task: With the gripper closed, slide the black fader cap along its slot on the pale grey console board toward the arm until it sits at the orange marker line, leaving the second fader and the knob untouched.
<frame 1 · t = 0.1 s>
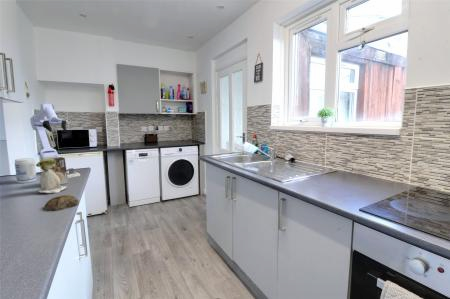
hand: (58, 130, 145), 32 cm above the worktop, tool tilted 50°, fingers open, 7 cm apart
fader a: (71, 170, 158), point 4 cm above the worktop, slide at 3.0 cm
coffee box: (58, 184, 139), on the worktop
off-white lumpy piece: (52, 191, 126), on the worktop
fader b: (58, 171, 155), point 4 cm above the worktop, slide at -1.0 cm
console: (65, 175, 158), on the worktop
bread roll: (61, 206, 105), on the worktop
supplement tub: (27, 181, 146), on the worktop
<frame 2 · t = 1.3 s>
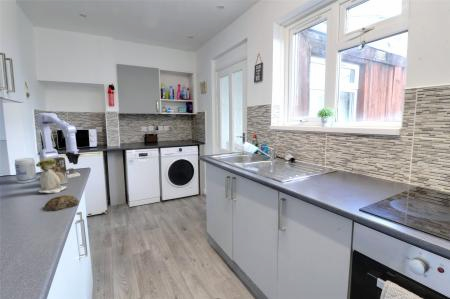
hand: (73, 163, 153), 9 cm above the worktop, tool pointing down, fingers open, 7 cm apart
nothing on the worktop moved.
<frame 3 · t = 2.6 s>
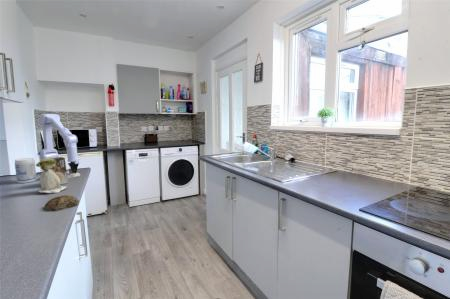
hand: (74, 172, 154), 3 cm above the worktop, tool pointing down, fingers closed
nothing on the worktop moved.
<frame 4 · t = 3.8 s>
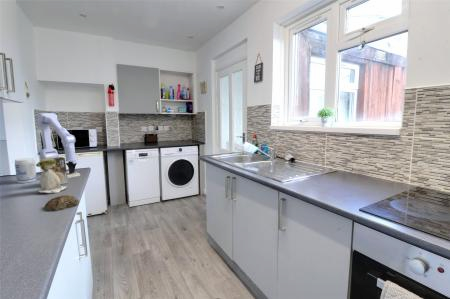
hand: (72, 172, 157), 3 cm above the worktop, tool pointing down, fingers closed
fader a: (71, 170, 158), point 4 cm above the worktop, slide at 2.5 cm, touching gripper
everything else where it was.
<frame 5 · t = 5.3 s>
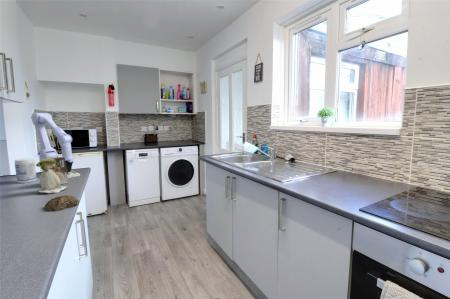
hand: (69, 171, 161), 3 cm above the worktop, tool pointing down, fingers closed
fader a: (67, 169, 162), point 4 cm above the worktop, slide at -4.0 cm, touching gripper
everything else where it was.
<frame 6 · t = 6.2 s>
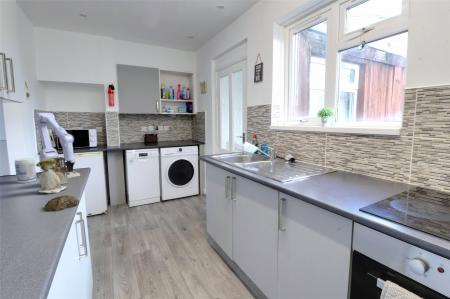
hand: (70, 171, 159), 3 cm above the worktop, tool pointing down, fingers closed
fader a: (67, 169, 162), point 4 cm above the worktop, slide at -4.0 cm
everything else where it was.
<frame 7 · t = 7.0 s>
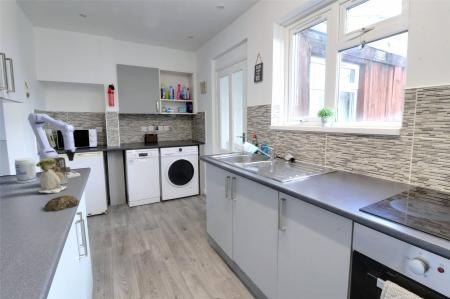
hand: (71, 160, 161), 10 cm above the worktop, tool pointing down, fingers closed
nothing on the worktop moved.
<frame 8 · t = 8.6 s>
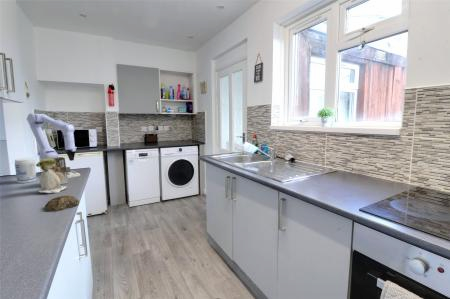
hand: (71, 160, 162), 10 cm above the worktop, tool pointing down, fingers closed
nothing on the worktop moved.
at the end: fader a slide at -4.0 cm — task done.
